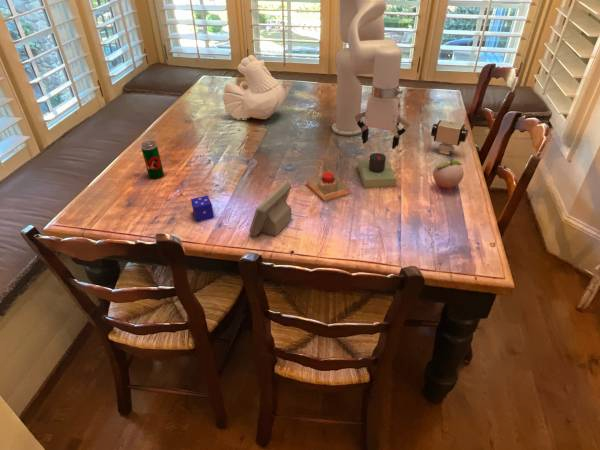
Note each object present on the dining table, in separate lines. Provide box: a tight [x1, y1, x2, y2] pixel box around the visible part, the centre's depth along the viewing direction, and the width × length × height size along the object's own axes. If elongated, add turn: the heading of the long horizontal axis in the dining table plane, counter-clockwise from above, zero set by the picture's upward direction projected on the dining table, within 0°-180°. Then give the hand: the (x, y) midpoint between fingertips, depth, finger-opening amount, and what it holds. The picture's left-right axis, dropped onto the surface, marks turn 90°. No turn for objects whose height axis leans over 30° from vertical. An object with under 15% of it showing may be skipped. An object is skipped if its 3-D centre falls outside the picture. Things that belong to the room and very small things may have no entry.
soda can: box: [140, 140, 165, 180], centre depth 145 cm, size 5×5×12 cm
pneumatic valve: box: [430, 119, 469, 156], centre depth 155 cm, size 6×12×12 cm, turn 61°
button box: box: [306, 173, 350, 202], centre depth 139 cm, size 11×9×4 cm
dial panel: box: [357, 158, 397, 188], centre depth 145 cm, size 13×10×3 cm
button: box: [321, 171, 335, 182], centre depth 137 cm, size 4×4×2 cm
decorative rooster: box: [222, 54, 286, 121], centre depth 182 cm, size 25×16×25 cm
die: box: [190, 195, 215, 222], centre depth 128 cm, size 5×5×5 cm
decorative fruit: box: [432, 159, 465, 189], centre depth 136 cm, size 9×8×10 cm
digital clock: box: [249, 181, 292, 237], centre depth 122 cm, size 16×9×11 cm, turn 140°
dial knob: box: [368, 152, 387, 173], centre depth 142 cm, size 5×5×5 cm
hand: (379, 144), depth 138 cm, fingers open, 9 cm apart
